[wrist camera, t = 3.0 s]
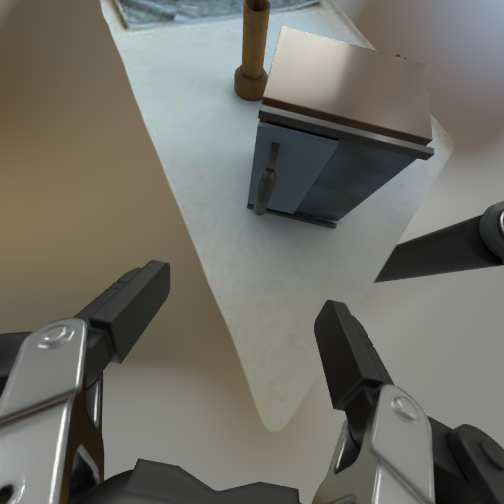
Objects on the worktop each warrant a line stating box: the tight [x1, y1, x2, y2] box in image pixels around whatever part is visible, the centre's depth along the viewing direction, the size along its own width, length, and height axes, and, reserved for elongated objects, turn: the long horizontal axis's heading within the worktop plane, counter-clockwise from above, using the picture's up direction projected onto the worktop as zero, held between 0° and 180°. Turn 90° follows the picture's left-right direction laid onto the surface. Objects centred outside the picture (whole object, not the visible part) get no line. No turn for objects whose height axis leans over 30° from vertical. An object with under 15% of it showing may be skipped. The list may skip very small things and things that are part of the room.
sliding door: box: [248, 122, 338, 216], centre depth 22 cm, size 7×4×13 cm, turn 78°
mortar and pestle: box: [234, 0, 270, 100], centre depth 29 cm, size 7×6×18 cm
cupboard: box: [247, 26, 434, 228], centre depth 24 cm, size 15×12×16 cm
